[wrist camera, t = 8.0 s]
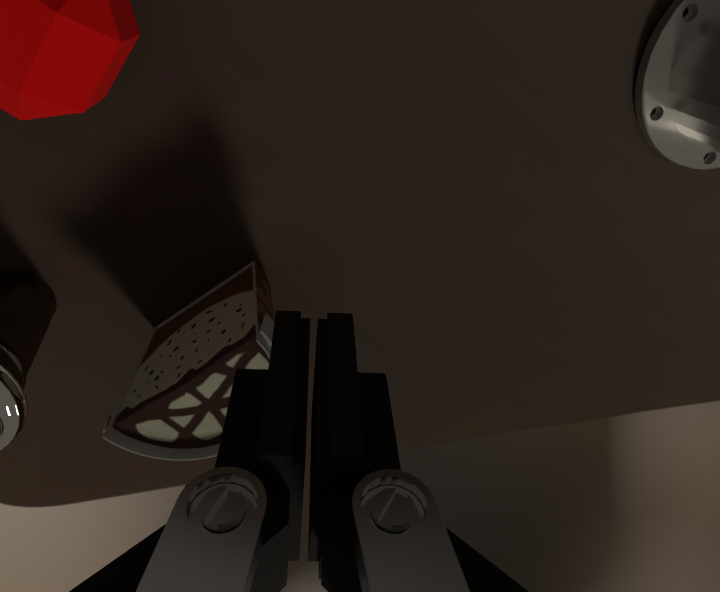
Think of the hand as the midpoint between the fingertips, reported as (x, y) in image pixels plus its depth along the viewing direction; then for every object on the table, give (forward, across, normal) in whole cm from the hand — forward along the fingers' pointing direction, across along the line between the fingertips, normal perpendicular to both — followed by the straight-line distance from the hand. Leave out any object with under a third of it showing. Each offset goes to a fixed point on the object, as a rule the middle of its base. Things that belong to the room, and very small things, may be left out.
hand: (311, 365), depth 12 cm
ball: (+23, +14, -4) cm, 27 cm away
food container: (+23, +6, +15) cm, 28 cm away
